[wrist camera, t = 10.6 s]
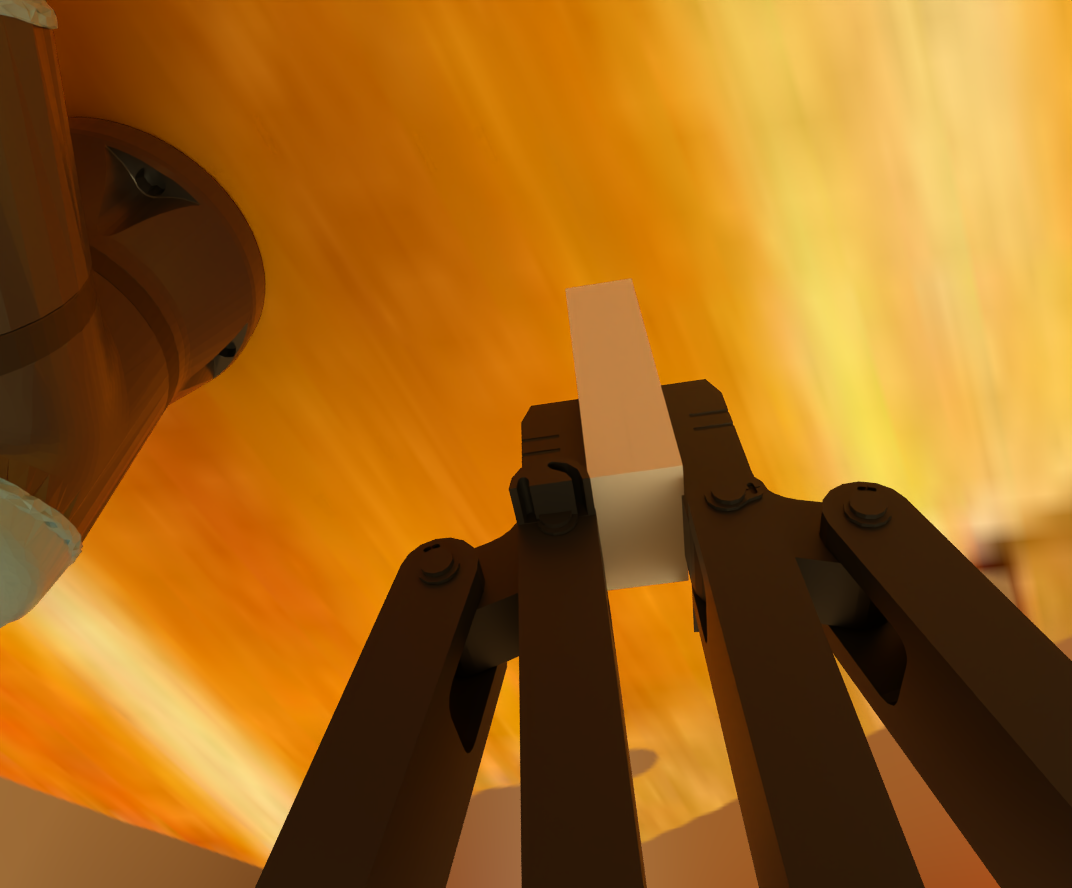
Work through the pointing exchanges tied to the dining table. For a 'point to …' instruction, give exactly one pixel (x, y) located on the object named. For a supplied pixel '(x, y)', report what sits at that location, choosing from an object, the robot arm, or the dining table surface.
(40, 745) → the dining table surface
